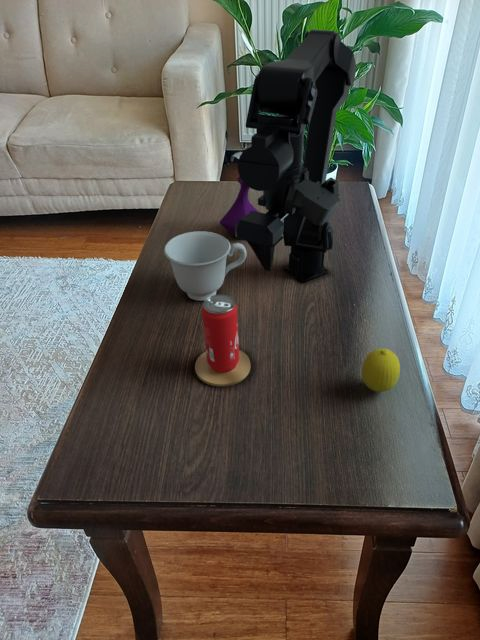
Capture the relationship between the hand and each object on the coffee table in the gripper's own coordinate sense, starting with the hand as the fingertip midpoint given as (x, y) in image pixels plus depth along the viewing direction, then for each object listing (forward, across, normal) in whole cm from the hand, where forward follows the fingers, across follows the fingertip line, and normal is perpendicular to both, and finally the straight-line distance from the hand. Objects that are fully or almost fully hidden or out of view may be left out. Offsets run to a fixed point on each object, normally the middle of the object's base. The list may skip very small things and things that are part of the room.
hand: (280, 257), depth 86 cm
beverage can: (+13, -15, +2) cm, 20 cm away
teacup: (+13, +2, +16) cm, 21 cm away
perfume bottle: (+13, +25, +22) cm, 36 cm away
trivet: (+13, -16, +2) cm, 20 cm away
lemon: (+13, -9, -21) cm, 27 cm away
